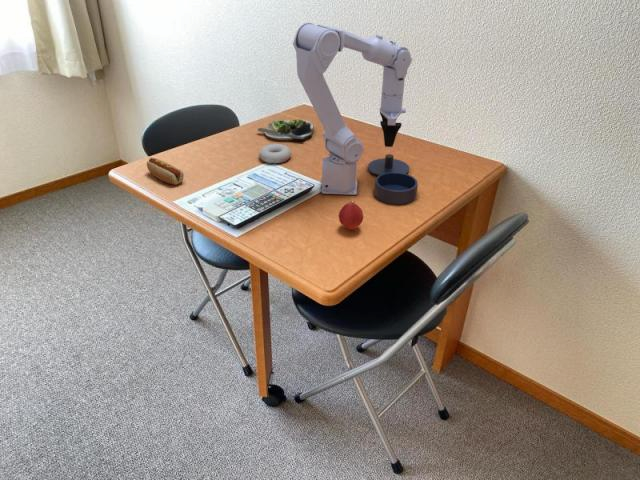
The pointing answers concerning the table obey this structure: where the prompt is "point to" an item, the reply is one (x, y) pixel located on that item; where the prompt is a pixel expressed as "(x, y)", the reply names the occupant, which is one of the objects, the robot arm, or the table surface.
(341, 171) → the robot arm
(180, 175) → the food
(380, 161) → the lid
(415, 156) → the table surface
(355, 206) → the onion
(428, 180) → the table surface
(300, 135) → the salad plate
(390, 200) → the pot
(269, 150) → the donut
